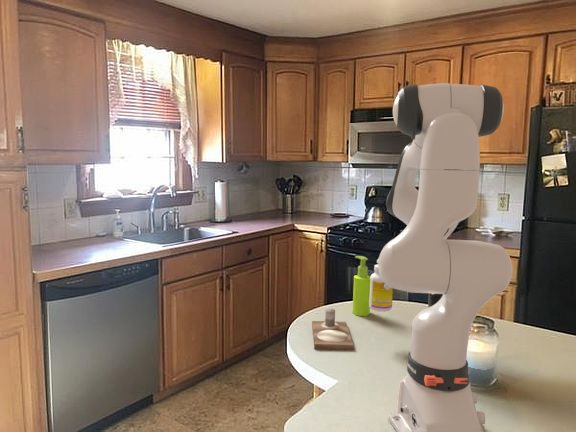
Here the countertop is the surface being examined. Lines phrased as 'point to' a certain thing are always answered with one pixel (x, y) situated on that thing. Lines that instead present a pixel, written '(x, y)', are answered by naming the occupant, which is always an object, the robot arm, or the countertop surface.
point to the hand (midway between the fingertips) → (379, 284)
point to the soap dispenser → (361, 289)
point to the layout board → (331, 333)
